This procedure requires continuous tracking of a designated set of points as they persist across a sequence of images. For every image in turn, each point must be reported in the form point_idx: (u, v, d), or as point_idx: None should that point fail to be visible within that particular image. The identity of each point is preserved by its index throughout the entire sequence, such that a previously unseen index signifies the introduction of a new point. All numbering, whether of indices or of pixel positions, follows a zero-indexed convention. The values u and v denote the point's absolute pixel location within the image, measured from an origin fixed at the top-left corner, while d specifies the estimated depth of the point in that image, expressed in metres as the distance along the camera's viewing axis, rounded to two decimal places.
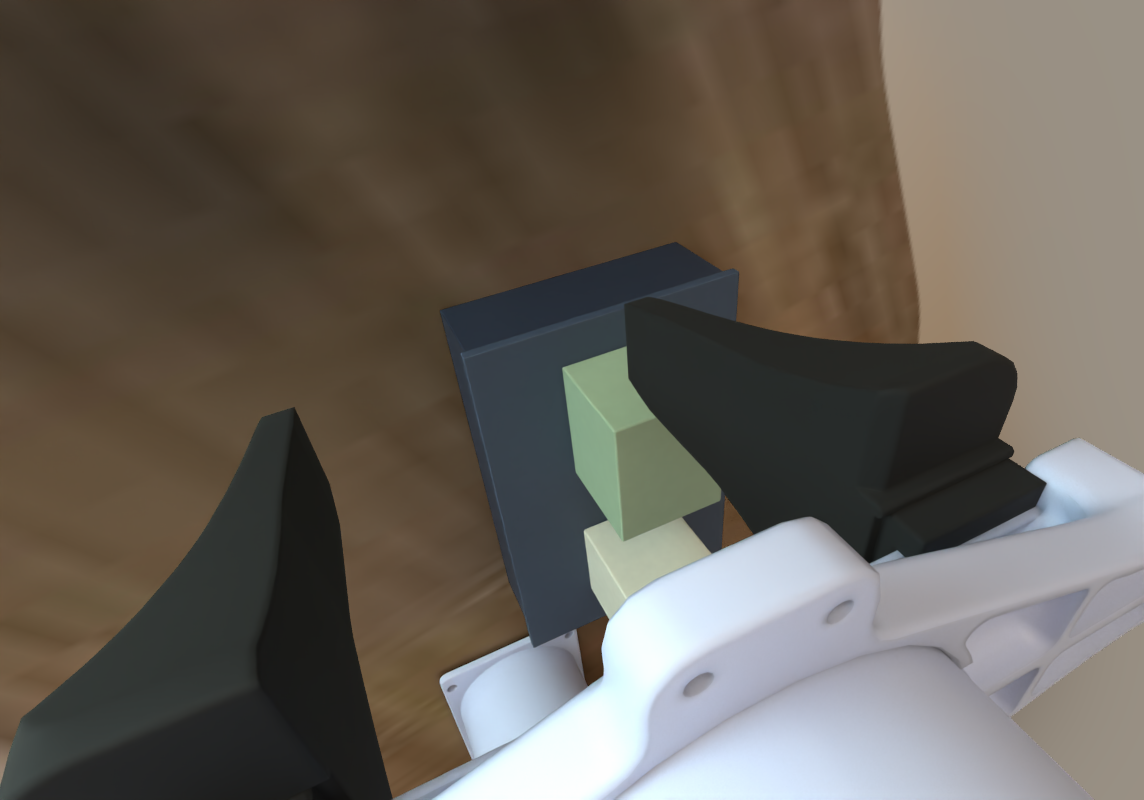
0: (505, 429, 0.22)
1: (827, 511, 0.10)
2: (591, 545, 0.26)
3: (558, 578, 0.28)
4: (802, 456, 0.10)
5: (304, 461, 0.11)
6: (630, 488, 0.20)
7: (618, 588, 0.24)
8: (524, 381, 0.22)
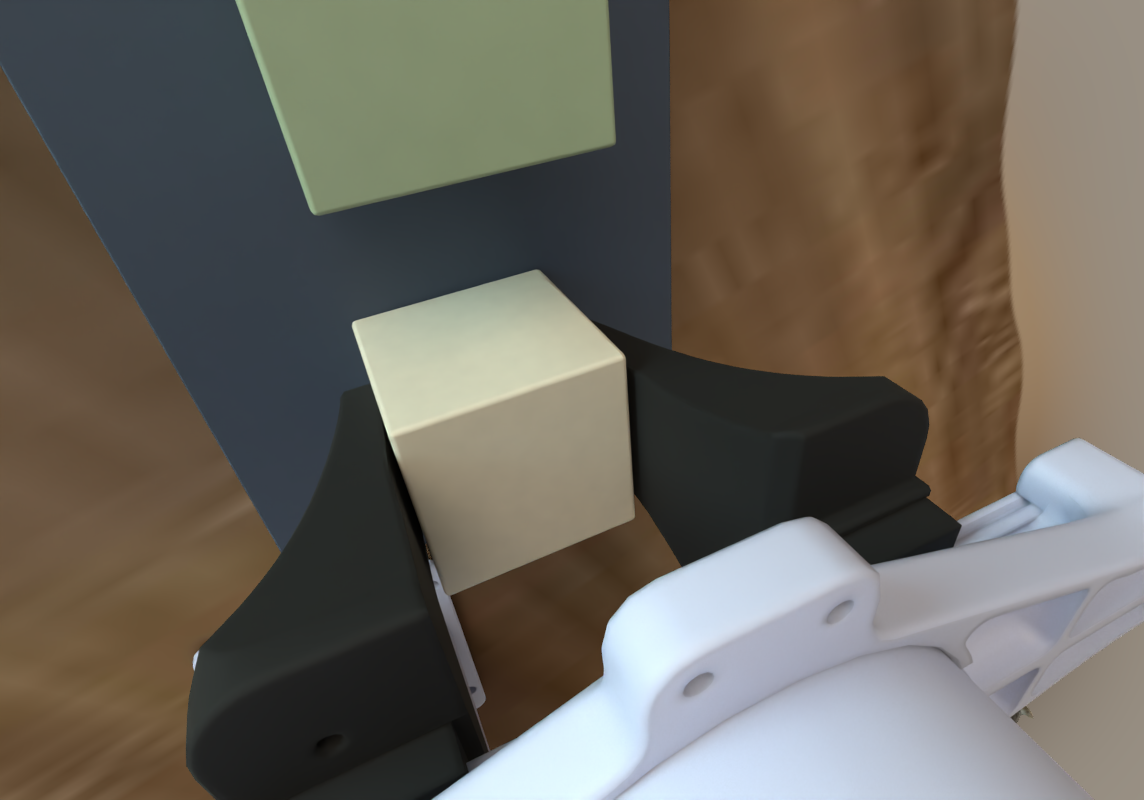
0: None
1: None
2: (359, 347, 0.12)
3: (319, 438, 0.13)
4: (715, 493, 0.09)
5: None
6: None
7: (381, 415, 0.10)
8: None
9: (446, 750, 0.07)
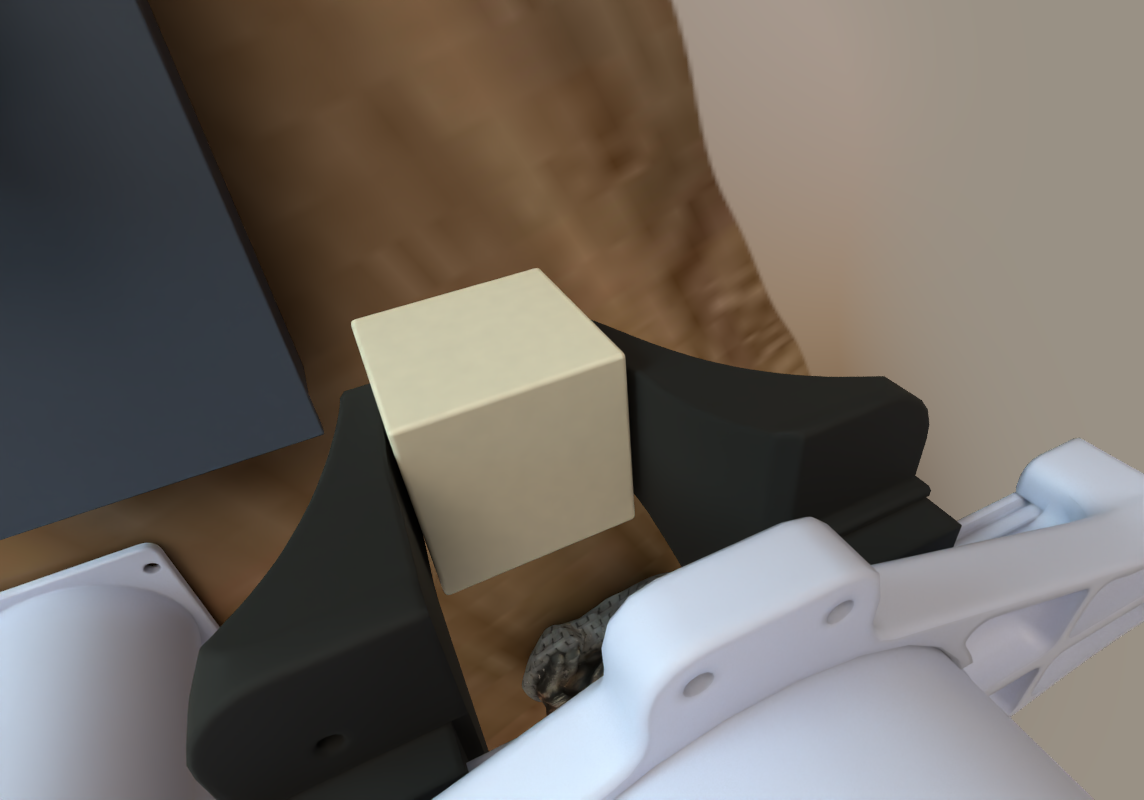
0: None
1: None
2: (358, 346, 0.12)
3: None
4: (715, 493, 0.09)
5: None
6: None
7: (380, 413, 0.10)
8: None
9: (447, 750, 0.07)
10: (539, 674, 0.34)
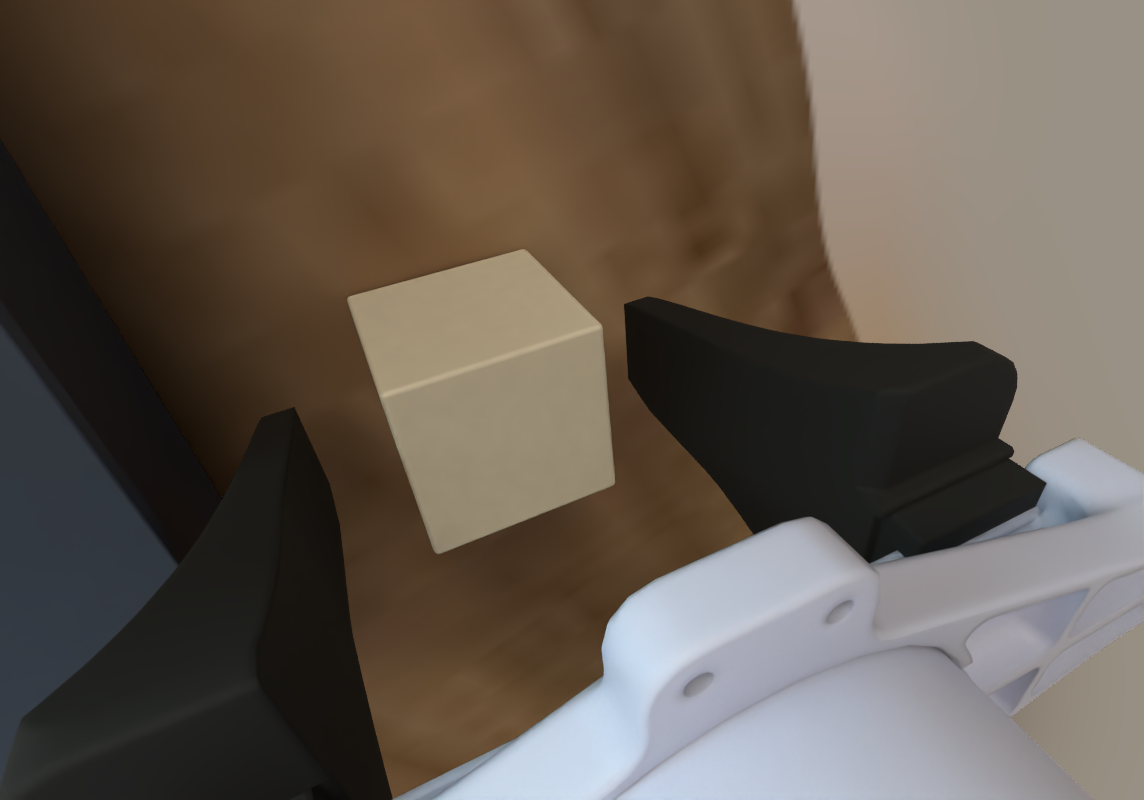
0: None
1: (827, 511, 0.10)
2: None
3: None
4: (802, 456, 0.10)
5: (304, 461, 0.11)
6: None
7: (373, 379, 0.11)
8: None
9: None
10: None
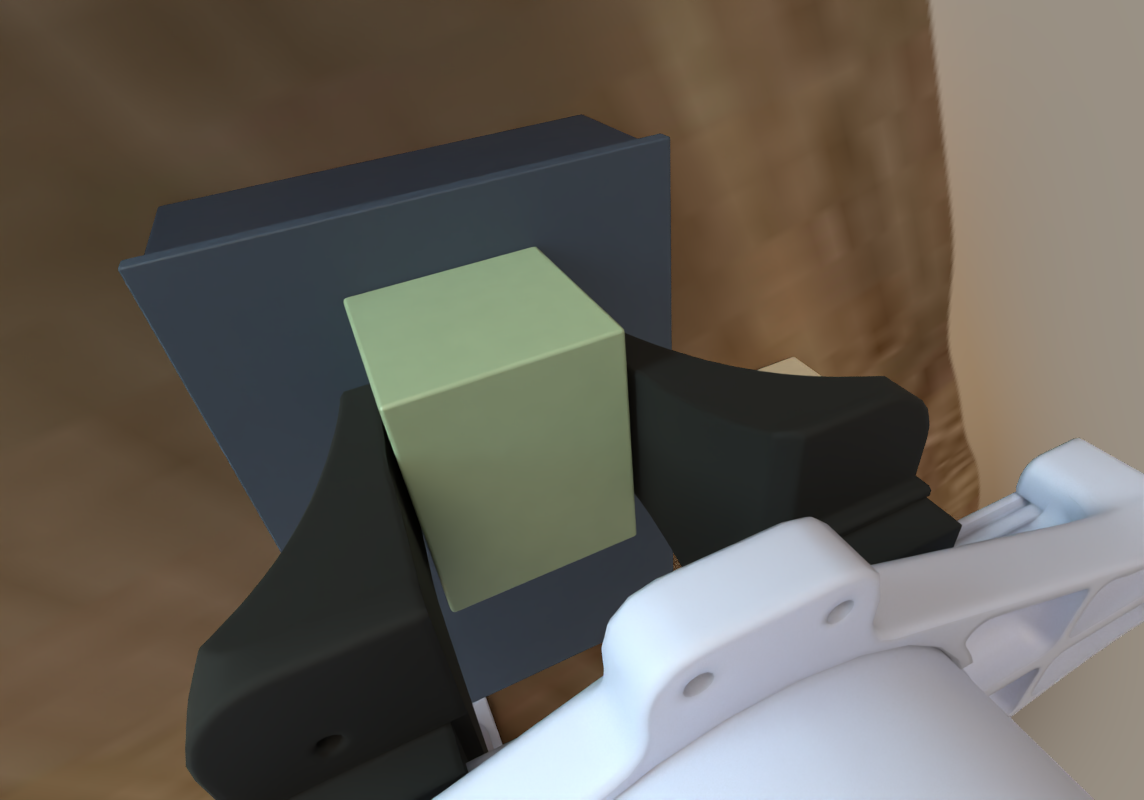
0: (252, 410, 0.13)
1: None
2: None
3: None
4: (715, 493, 0.09)
5: None
6: (445, 519, 0.11)
7: None
8: (270, 321, 0.12)
9: (446, 750, 0.07)
10: None
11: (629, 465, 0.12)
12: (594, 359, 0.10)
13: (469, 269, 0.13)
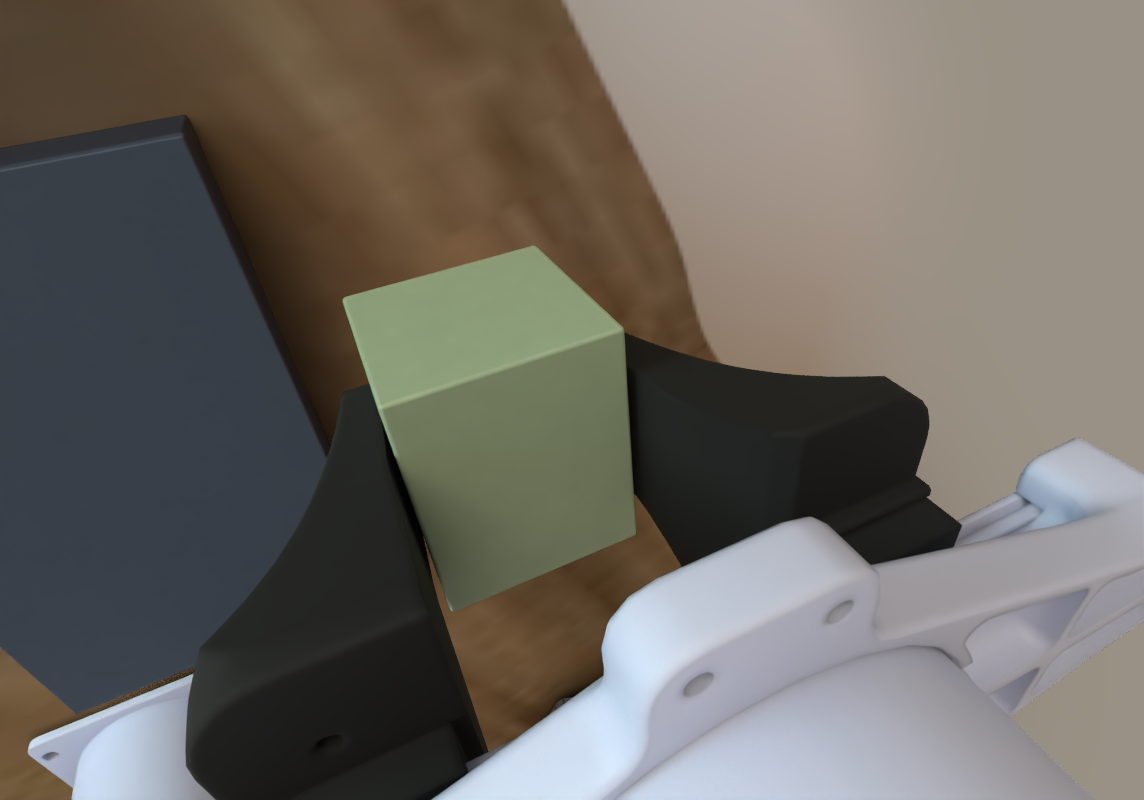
0: None
1: None
2: None
3: (63, 619, 0.19)
4: (715, 493, 0.09)
5: None
6: (445, 519, 0.11)
7: None
8: None
9: (447, 749, 0.07)
10: None
11: (629, 464, 0.12)
12: (593, 358, 0.10)
13: (467, 267, 0.13)
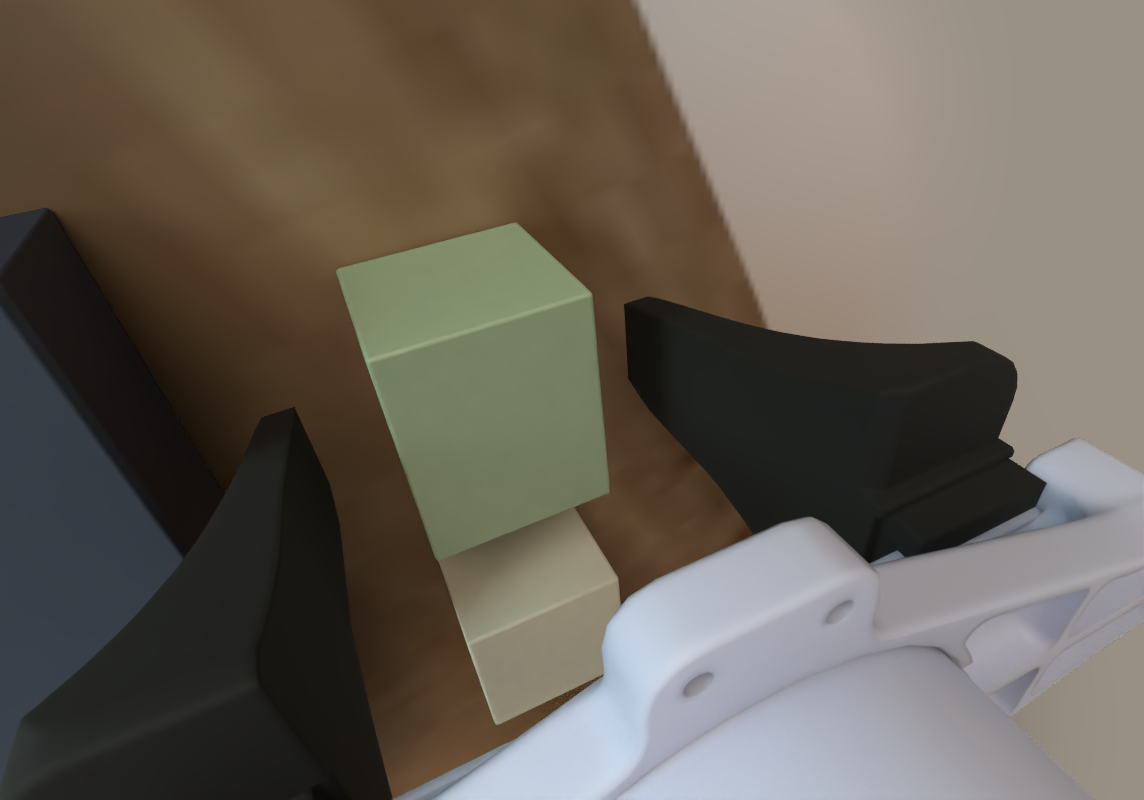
0: None
1: (827, 511, 0.10)
2: None
3: None
4: (802, 456, 0.10)
5: (304, 461, 0.11)
6: (429, 469, 0.12)
7: None
8: None
9: None
10: None
11: (601, 424, 0.13)
12: (565, 320, 0.11)
13: (452, 242, 0.13)
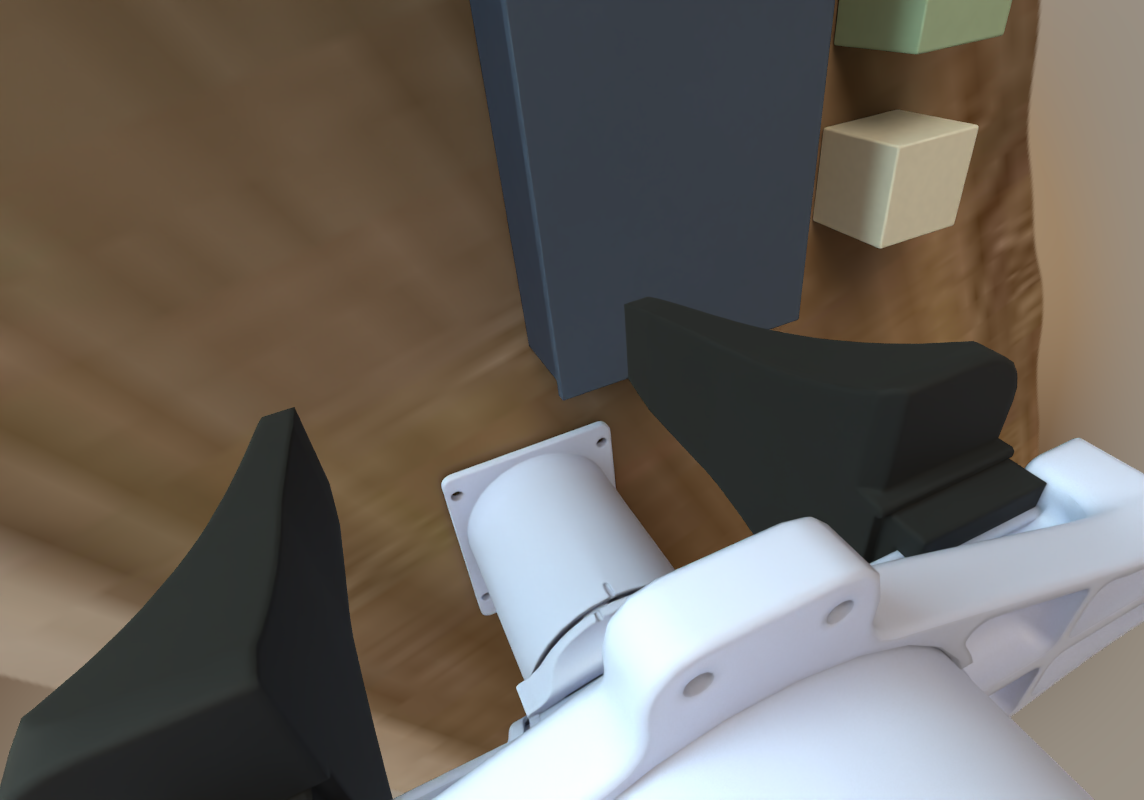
0: None
1: (827, 511, 0.10)
2: (836, 135, 0.26)
3: (597, 282, 0.21)
4: (802, 456, 0.10)
5: (304, 461, 0.11)
6: None
7: (883, 146, 0.24)
8: None
9: None
10: None
11: None
12: None
13: None
